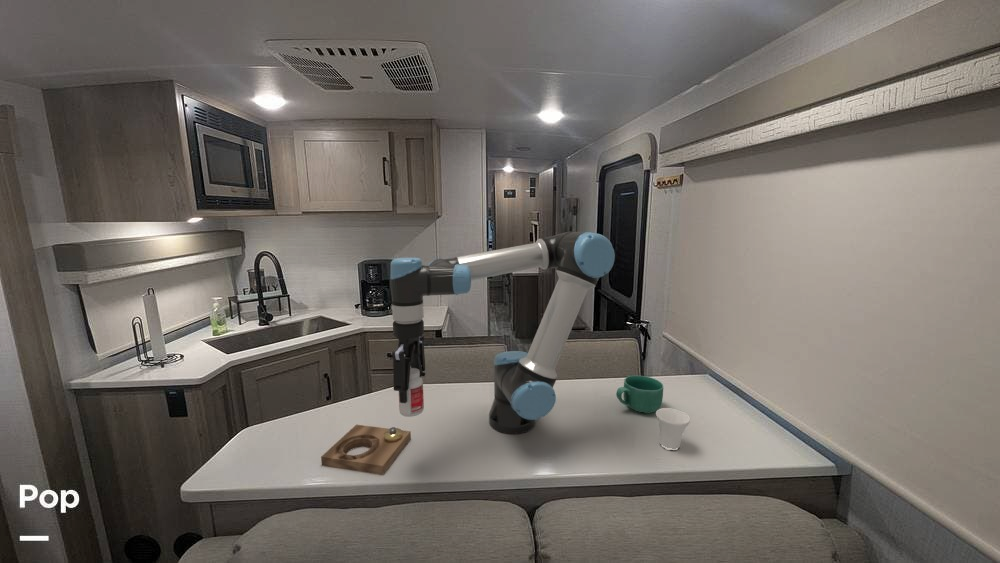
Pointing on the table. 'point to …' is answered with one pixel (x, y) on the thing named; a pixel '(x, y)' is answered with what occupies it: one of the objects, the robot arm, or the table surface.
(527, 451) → the table surface
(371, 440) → the carrier plate
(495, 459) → the table surface
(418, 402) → the pill bottle
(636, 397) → the mug
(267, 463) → the table surface
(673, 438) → the cup
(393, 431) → the disc
